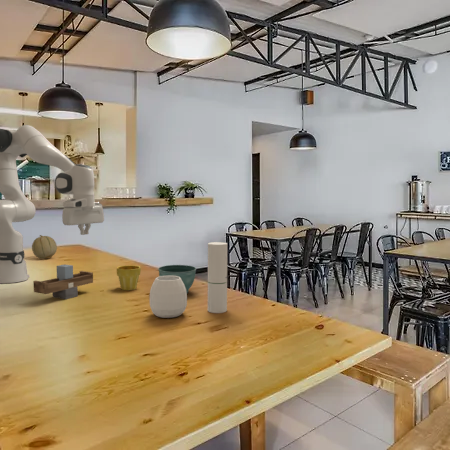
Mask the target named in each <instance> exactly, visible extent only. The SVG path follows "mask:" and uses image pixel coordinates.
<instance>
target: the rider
mask: <svg viewBox="0 0 450 450" xmlns="http://www.w3.org/2000/svg"><path fill="white" fill-rule="evenodd" d="M73 274H74V265H72V264H71V265H70V264H61V265H60V264H59V265H56V278H59V281H61V280H66V279H70V278H73Z"/></svg>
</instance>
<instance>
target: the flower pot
mask: <svg viewBox="0 0 450 450" xmlns="http://www.w3.org/2000/svg"><path fill="white" fill-rule="evenodd" d="M157 270H158V275H159V276H158V277H160V276H168V275H170V276H178V277H180V278H181V279H182V281H183V283H184V285H185V288H186V292H187V294H188V293H189V290H190V289H191V287H192V285H193V284H194V282H195V278H196V272H197V267H196V266H194V265H187V264H186V265H185V264H170V265H163V266H160V267H158V268H157Z"/></svg>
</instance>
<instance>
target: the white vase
mask: <svg viewBox="0 0 450 450" xmlns="http://www.w3.org/2000/svg"><path fill="white" fill-rule="evenodd" d="M149 290H150V291H149V307H150V309H151V312H152V314H153V315H155V316H156V317H158V318H163V319H164V318H167V319H169V318H170V319H171V318H177V317H180V316H181V315H182V314H183V313H184V312H185V310H186V308H187V305H188V295H187V294H188V293H187V292H186V288H185V285H184V283H183V281H182V279H181V278H180V277H178V276H170V275H168V276H160V277H159V276H157V277H155V279H154V280H153V283H152V284H151V287H150V289H149Z"/></svg>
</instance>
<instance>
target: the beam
mask: <svg viewBox="0 0 450 450" xmlns="http://www.w3.org/2000/svg"><path fill="white" fill-rule="evenodd" d="M93 283H94V272H92V271H84V270H80V271H79V273H73V278H70V279H66V280H61V281H59V278H57V277H56V278H51V279H47V280H41V281H40V280H33V284H32V285H33V293H36V294H42V295H49V294H52V298H55V299H56V298H57V299H62V300H70V299H73V298H76V297H78V295H79V294H78V292H79V291H78V287H81V286H85V285H88V284H93Z"/></svg>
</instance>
